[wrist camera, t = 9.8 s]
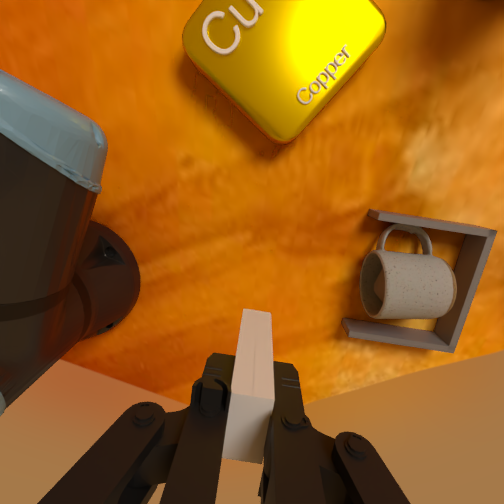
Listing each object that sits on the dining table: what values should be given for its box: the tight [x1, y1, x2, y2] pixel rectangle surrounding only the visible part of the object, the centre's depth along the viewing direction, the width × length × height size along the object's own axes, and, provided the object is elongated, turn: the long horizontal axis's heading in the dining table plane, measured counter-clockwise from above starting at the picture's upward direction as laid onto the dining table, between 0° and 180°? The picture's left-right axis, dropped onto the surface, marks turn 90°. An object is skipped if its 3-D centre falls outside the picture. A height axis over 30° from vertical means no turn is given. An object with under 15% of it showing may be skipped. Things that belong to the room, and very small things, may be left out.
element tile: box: [182, 0, 386, 145], centre depth 31 cm, size 15×15×5 cm
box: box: [341, 209, 497, 353], centre depth 37 cm, size 13×15×4 cm
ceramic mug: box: [360, 223, 457, 319], centre depth 35 cm, size 11×8×8 cm
